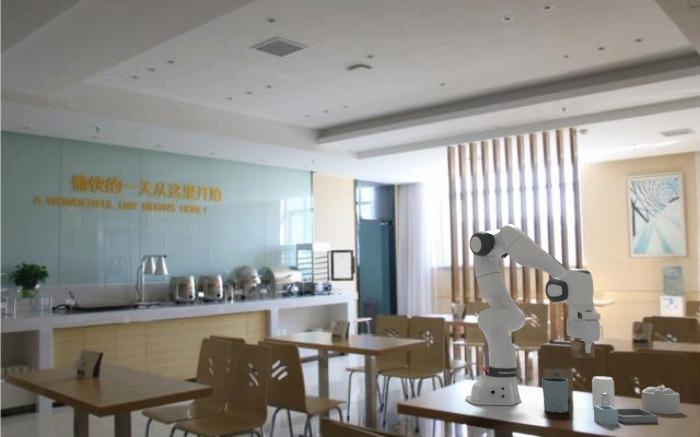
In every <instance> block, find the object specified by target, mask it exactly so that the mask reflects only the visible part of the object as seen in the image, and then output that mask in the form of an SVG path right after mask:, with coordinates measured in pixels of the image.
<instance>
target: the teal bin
mask: <svg viewBox="0 0 700 437" xmlns="http://www.w3.org/2000/svg"><path fill="white" fill-rule="evenodd" d="M541 389H542V393H543V404H544V410H545V411H546V412H549V413H554V412H558V413H559V414H562V413H563V412H564V413H567V412H568V411H569V379H568V378H565V377H559V376H558V377H557V376H555V377H554V376H551V377H550V376H548V377H543V378H541ZM558 413H557V414H558ZM564 413H563V414H564Z"/></svg>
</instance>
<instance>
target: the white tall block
mask: <svg viewBox="0 0 700 437" xmlns="http://www.w3.org/2000/svg"><path fill="white" fill-rule="evenodd" d="M591 390H592V396H591V397H592V407H593V408H594V406H602V396H601V393H609V404H610V406H612V407H614V408H616V405H615V404H616V402H615V380H614V379H613V377H611V376H604V375H603V376H602V375H599V376H593V377H592V380H591Z"/></svg>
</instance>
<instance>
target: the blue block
mask: <svg viewBox="0 0 700 437" xmlns="http://www.w3.org/2000/svg"><path fill="white" fill-rule="evenodd" d="M618 409H619V408H616V407H615V408H614V407H612V406H610V409H602V406H594V407H593V421H594V422H596V423H598V424H600V425H603V426H607V425H608V426H609V425H610V426H612V425H613V426H614V425H619V422H618Z"/></svg>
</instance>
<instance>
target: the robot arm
mask: <svg viewBox="0 0 700 437" xmlns="http://www.w3.org/2000/svg"><path fill="white" fill-rule="evenodd" d="M469 248H470V250H471V252H472V253H473V254H474V255H475V256H474V257H473V266H474V268H473V269H474V274H475V278H476V281H477V282H476V283H477V285H478V288H479V292H480V296H481V297H482V299H484V301H485V302H487V303H488V305H489V306H490V307H488V308H486V309H484V310H482V311H480V312H479V314H478V317H477V320H476V321H477V326H478V328H479V330H481V332H483V334H484V337H485V339H486V342H487V346H488V359H489V360H488V361H489V362H488V363H489V365H488V366H484V365H483V366H482V367H481V371H482V372H484V375H483V376H482V377H481V378H479V379H478V380H477V381H476V382H474V383H473V384H472V387H471V391H470V392H471V393H470V394H469V395H466V397H465V401H466V402H468V403H470V404H473V405H479V406H480V405H481V406H514V405H516V404H520V403H522V400H521V396H520V391H519V387H518V385H519V384H518V379H519V371H518V370H519V369H518V366H517V349H516V346H515V345H514V344H513V343H512V341H511V338H510V334H509V333H514V332H516V331H519V330H520V329H522V328H523V327H524V326H525V324H526V315H525V312H524V311H523V310H522V309H521V308H520V307H519V306H517V304H516V303H515V301H514V299H513V298H512V296H511V295H510V293H509V291H508V288H507V285H506V282H505V279H504V276H503V272H502V269H501V266H500V259H506V258H507V257H508V256H509V257H510V258H511V260H513V261H514V262H515V263H517V264H518V265H520V266H522V267H526V268H530V269H535V270H540V271H543V272H545V273H547V274H548V275H550V276H551V278H549V280H547V282H546V284H545V286H544V287H545V288H544V289H545V292H544V293H545V295H546V297H547V299H548V300H549V301H550V302H552V303H557V304H568V316H567V318H566V326H565V327H566V329H565V330H566V336H569V337H571V338H572V339H573V340H585V348H584V352H585V353H590V352H591V345H592V342H594V343H595V342H599V340H600V337H601V325H600V324H601V323H600V321H599V320H601V313H600V312H599V311H597V310H596V308H595V302H594V299H593V298H594V294H595V293H594V292H595V289H594V280H593V275H592V272H590V271H589V270H587V269H584V268H577V267H576V268H574V267H573V268H569V269H568V268H567V267H566V266H564V265H563V264H562V263H561V261H559V260H558V259H557V258H555V257H554V256H552V255H551V254H549V253H548V252H547V251H546V250H544V248H542V247H540V246H539V245H538V244H537V243H536V242H535V241H534V240H533V238H531V237H530V236H529V235H528V234H527V233H526V232H524V231H523V230H522V229H521V228H519V227H518V226H516V225H514V224H506V225H504V226H502V227H501V228H500V229H490V230H485V231H477V232H475V233H473V234H472V235H471V237H470V239H469Z"/></svg>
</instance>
